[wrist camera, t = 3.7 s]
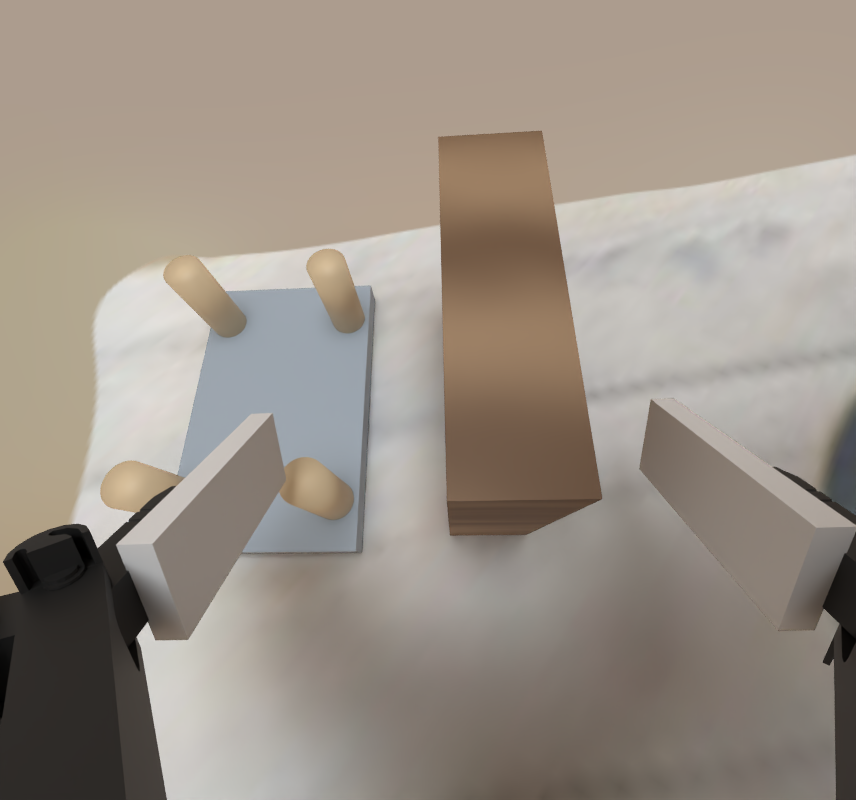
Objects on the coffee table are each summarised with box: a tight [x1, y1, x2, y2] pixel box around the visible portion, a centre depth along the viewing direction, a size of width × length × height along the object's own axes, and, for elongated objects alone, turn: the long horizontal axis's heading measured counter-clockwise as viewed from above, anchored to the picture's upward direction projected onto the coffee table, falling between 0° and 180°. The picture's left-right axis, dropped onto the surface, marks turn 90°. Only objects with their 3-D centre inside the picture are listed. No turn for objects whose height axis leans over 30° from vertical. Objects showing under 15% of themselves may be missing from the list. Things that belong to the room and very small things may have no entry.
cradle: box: [100, 249, 375, 553], centre depth 22 cm, size 16×10×6 cm, turn 0°
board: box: [438, 131, 602, 535], centre depth 19 cm, size 14×4×12 cm, turn 0°
